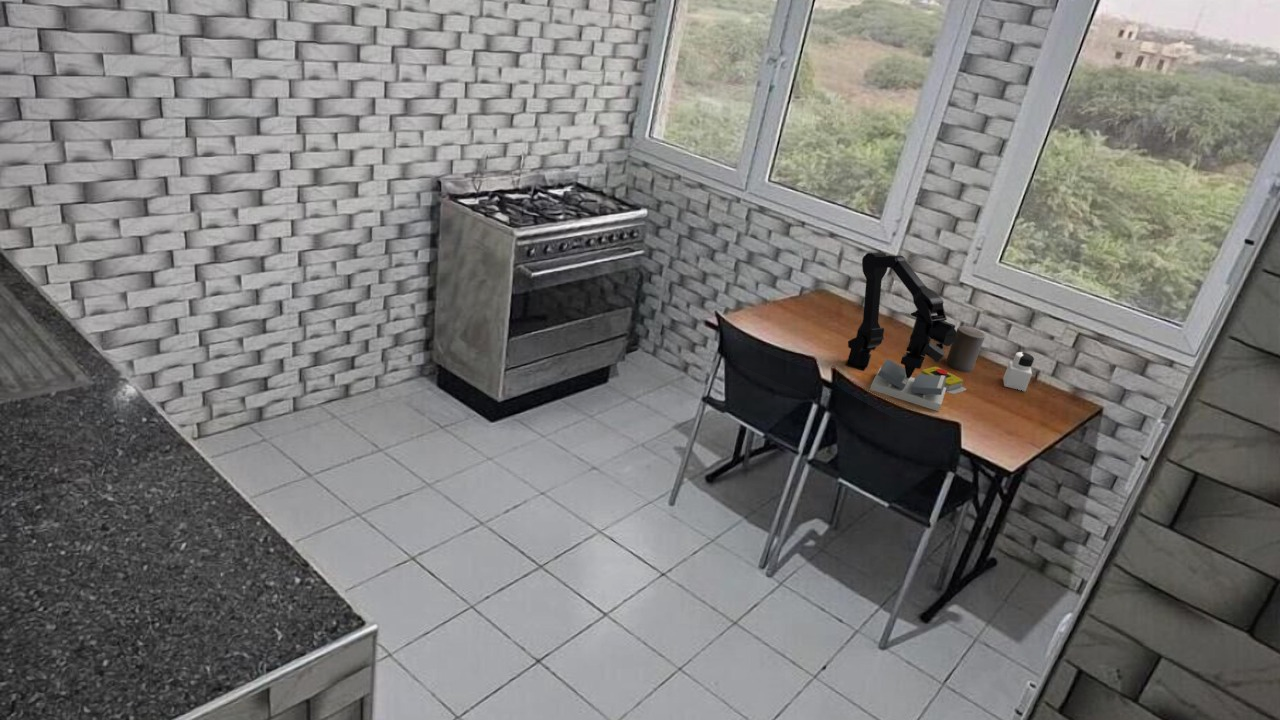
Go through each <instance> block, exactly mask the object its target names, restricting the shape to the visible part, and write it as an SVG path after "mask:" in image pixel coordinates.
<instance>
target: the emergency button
mask: <svg viewBox="0 0 1280 720" xmlns="http://www.w3.org/2000/svg"><path fill="white" fill-rule="evenodd" d="M919 374H921V375H937V376H941V375H942V376H946V382H945V385H944V387H945V388H946V391H945V393H946V392H947V393H949V394H951V395H955V394H959V393H961V392H965V391H967V388H966V387H965V386H963V381H964V380H963V378H960V377H958V376H956V375H954V374H952V373H951V372H949V371H947V370H945V369H943V368H941V367H938V366H932V367H928V368H925V369H922V370H921V371H920V373H919Z"/></svg>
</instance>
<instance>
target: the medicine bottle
mask: <svg viewBox="0 0 1280 720" xmlns="http://www.w3.org/2000/svg"><path fill="white" fill-rule="evenodd" d="M1034 360H1035V358H1034V356H1033V355H1031V354H1030V353H1027V352H1024V351H1018V352H1016V353H1015V355H1014V358H1013V360H1012V361H1008V365H1007V367H1006V370H1005V373H1004V375H1003V380H1002V381H1003V386H1004V387H1007V388H1010V389H1014V390H1017V389H1018V390H1017V391H1021V390H1022V391H1021V392H1026V391H1027V388H1028V386H1029V384H1030V380H1031V378H1032V376H1033V372H1032V366H1033V363H1034Z"/></svg>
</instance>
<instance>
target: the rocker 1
mask: <svg viewBox="0 0 1280 720" xmlns="http://www.w3.org/2000/svg"><path fill="white" fill-rule="evenodd" d="M880 368H881V370H880V371H879V370H878V371H879V373H878V372H877V373H878V376H880V377H882V378H883V379H885V380H887V381H888V382H890V383H892V384H893V385H895V386H897V387H898V388H900V389H902V390H903V389H904V387H905V386H906V384H907V381H908V379H909V378H907V377H906V371H905V367H902V366H901V365H900V364H898V363H897V362H894V361H893V360H891V359H889V358H886V359H885V360H884V362H883V364H882V366H881V367H880Z"/></svg>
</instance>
